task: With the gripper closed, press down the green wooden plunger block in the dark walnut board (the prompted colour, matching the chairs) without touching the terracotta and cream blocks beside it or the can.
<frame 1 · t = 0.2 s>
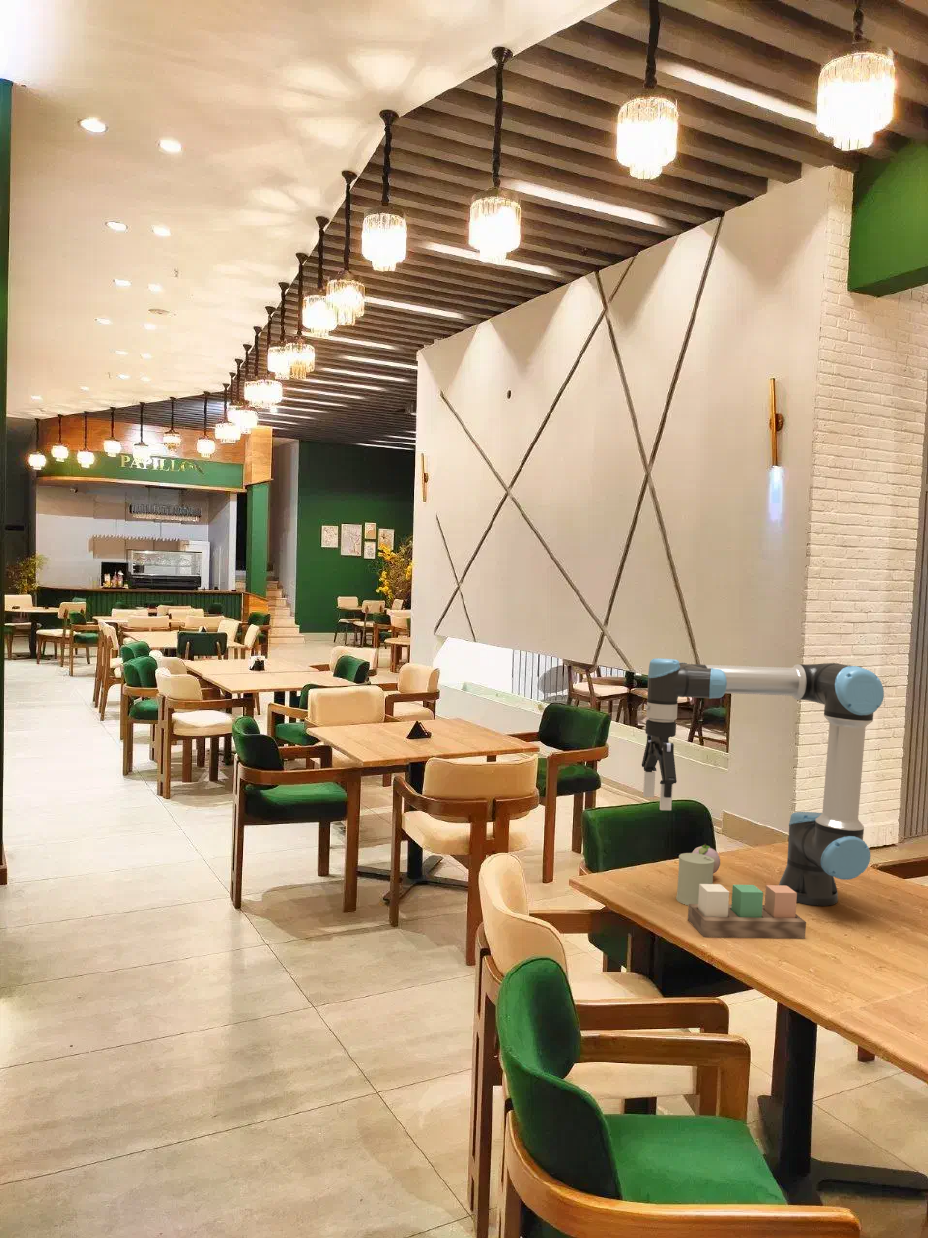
hand: (656, 803, 224), 28 cm above the table, tool pointing down, fingers open, 13 cm apart
walnut board: (745, 929, 216), on the table
decorative fruit: (704, 878, 254), on the table
terracotta block: (780, 903, 216), point 7 cm above the table, slide at 0.0 cm
can: (693, 901, 234), on the table
cream block: (713, 902, 215), point 7 cm above the table, slide at 0.0 cm
green block: (746, 902, 215), point 7 cm above the table, slide at 0.0 cm
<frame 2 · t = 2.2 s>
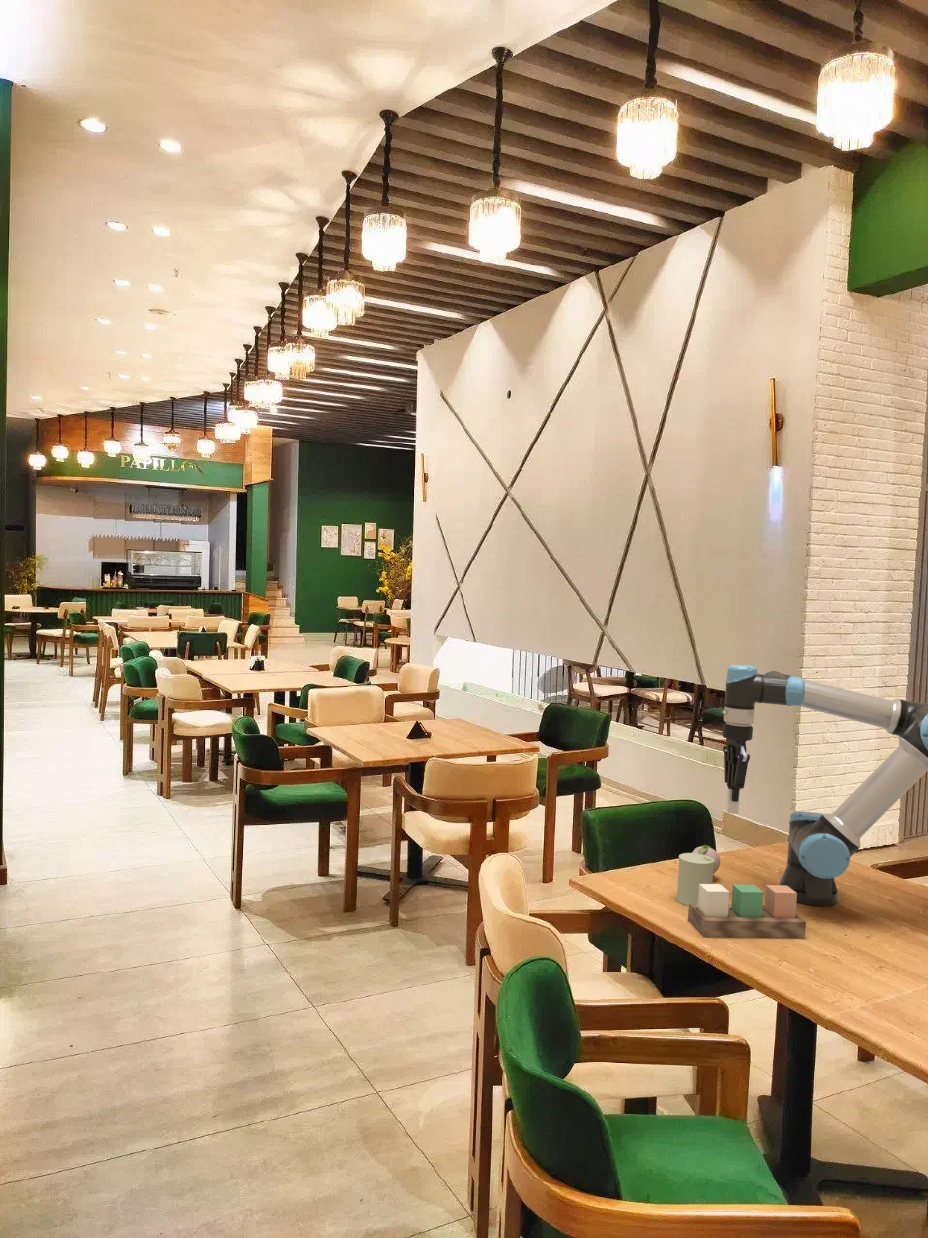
hand: (732, 812, 233), 24 cm above the table, tool pointing down, fingers closed
nothing on the table moved.
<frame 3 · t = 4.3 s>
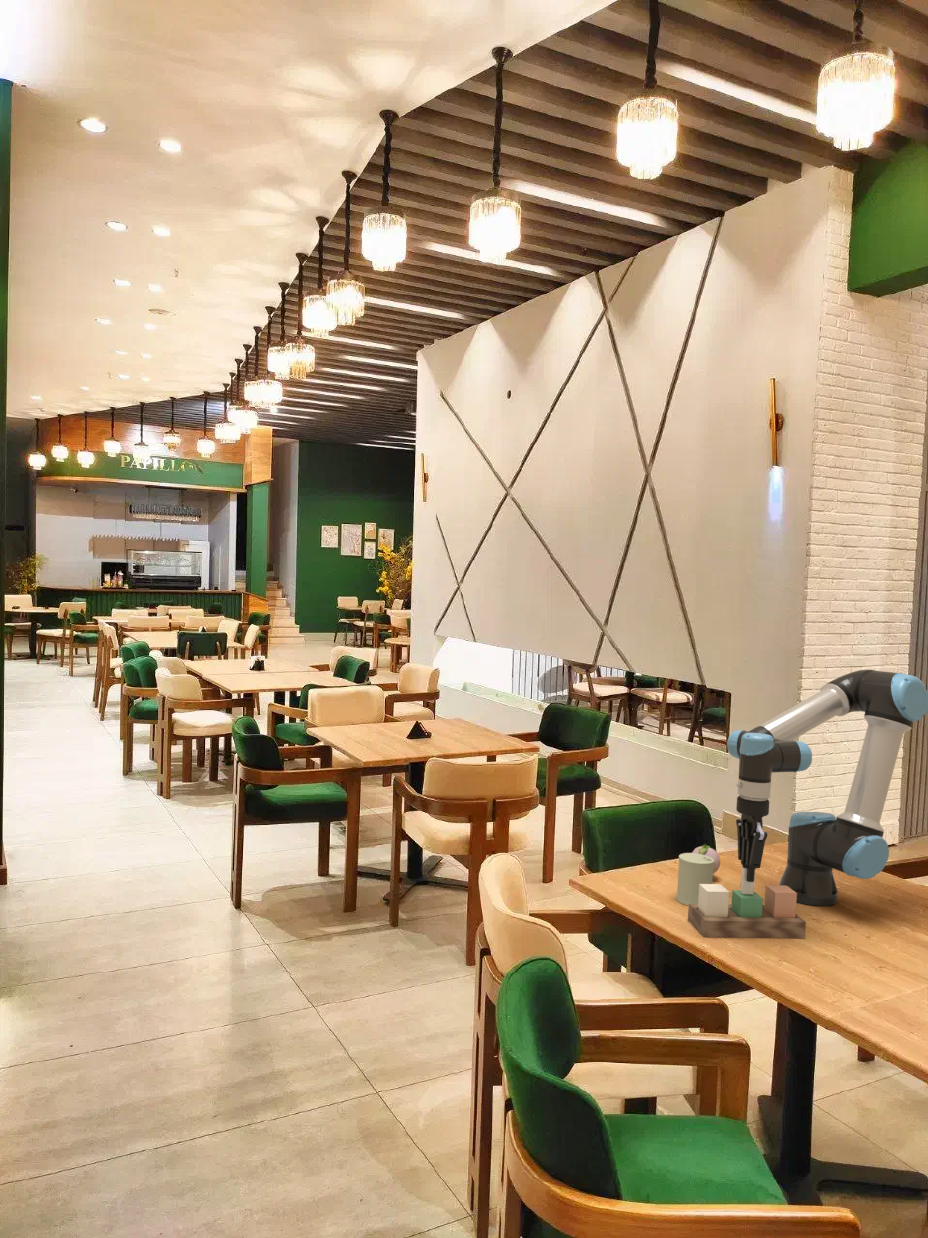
hand: (746, 893, 215), 9 cm above the table, tool pointing down, fingers closed
green block: (746, 908, 215), point 5 cm above the table, slide at -1.4 cm, touching gripper
everything else where it was.
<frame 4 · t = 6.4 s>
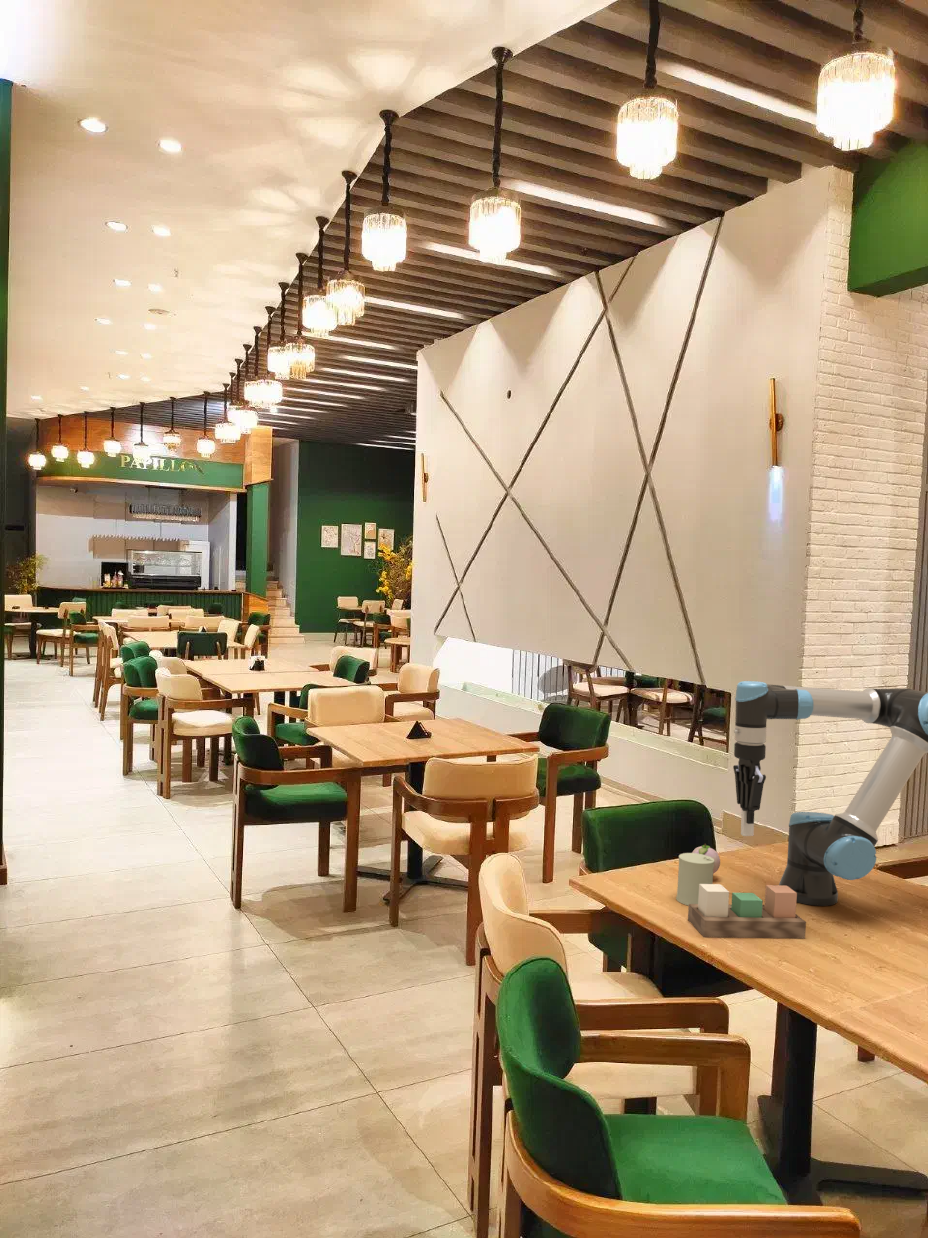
hand: (747, 835, 224), 21 cm above the table, tool pointing down, fingers closed
green block: (746, 910, 215), point 5 cm above the table, slide at -2.0 cm
everything else where it was.
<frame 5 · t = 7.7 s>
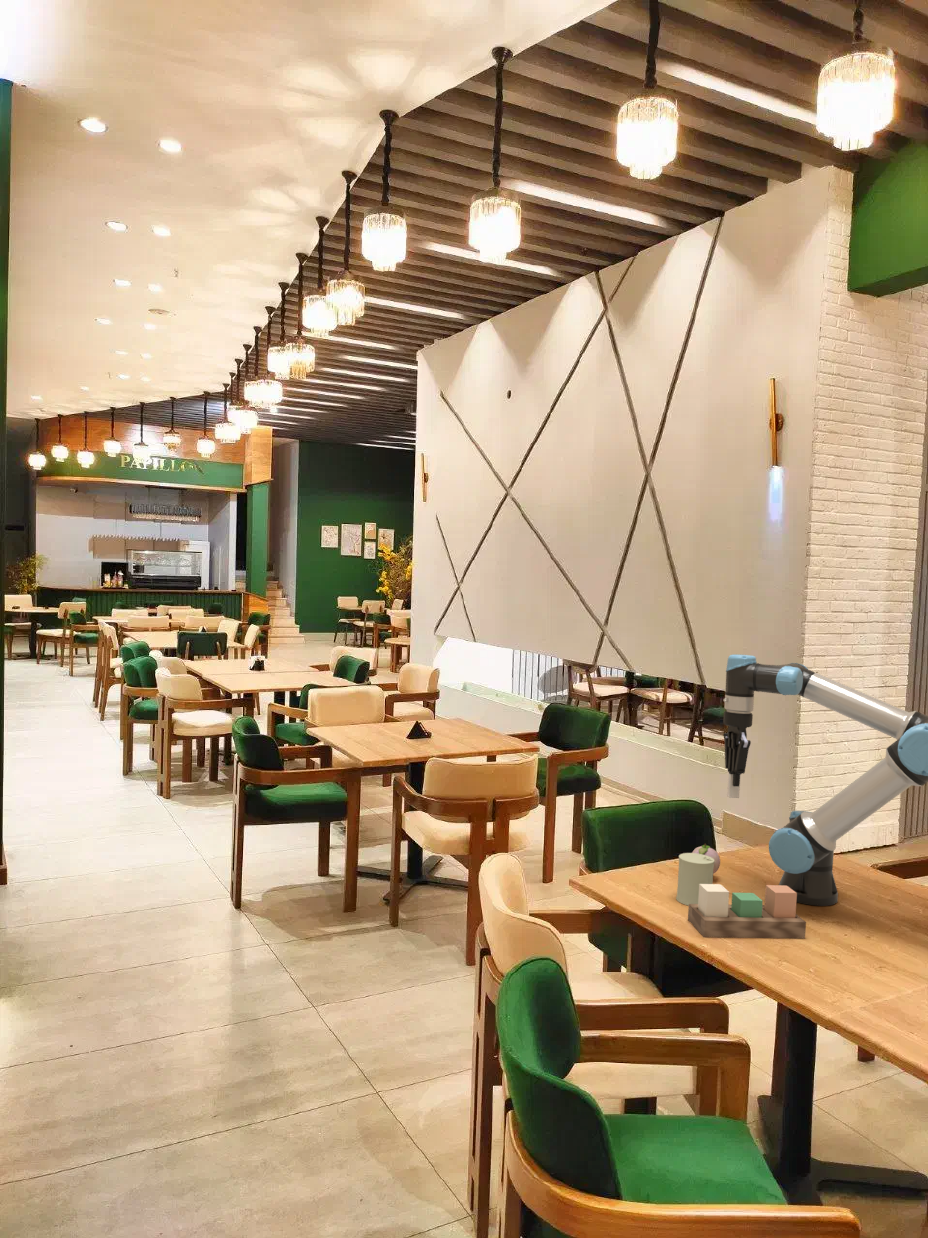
hand: (733, 797, 241), 26 cm above the table, tool pointing down, fingers closed
nothing on the table moved.
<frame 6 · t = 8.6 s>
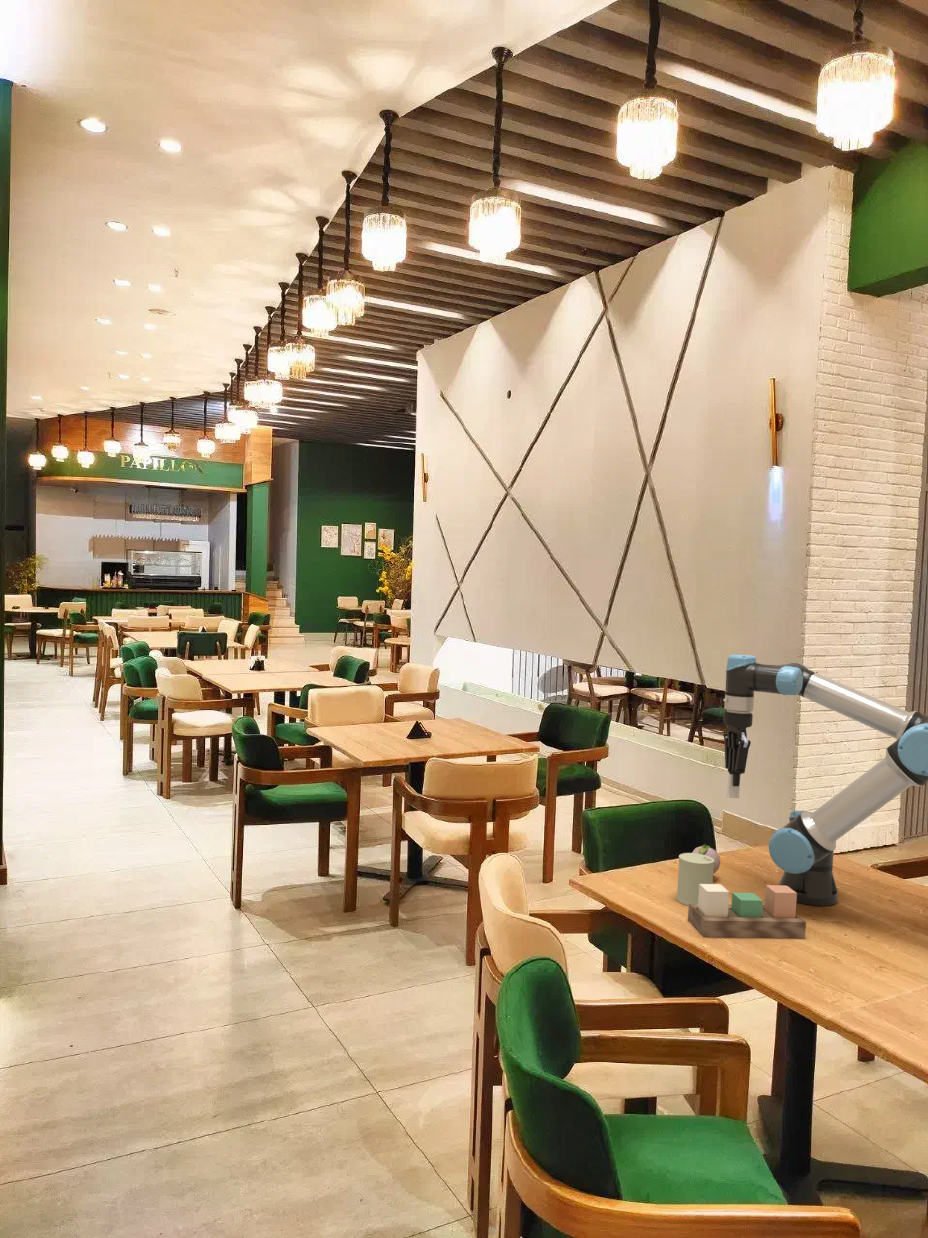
hand: (733, 797, 241), 26 cm above the table, tool pointing down, fingers closed
nothing on the table moved.
at the end: green block slide at -2.0 cm; terracotta block slide at 0.0 cm; cream block slide at 0.0 cm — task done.
